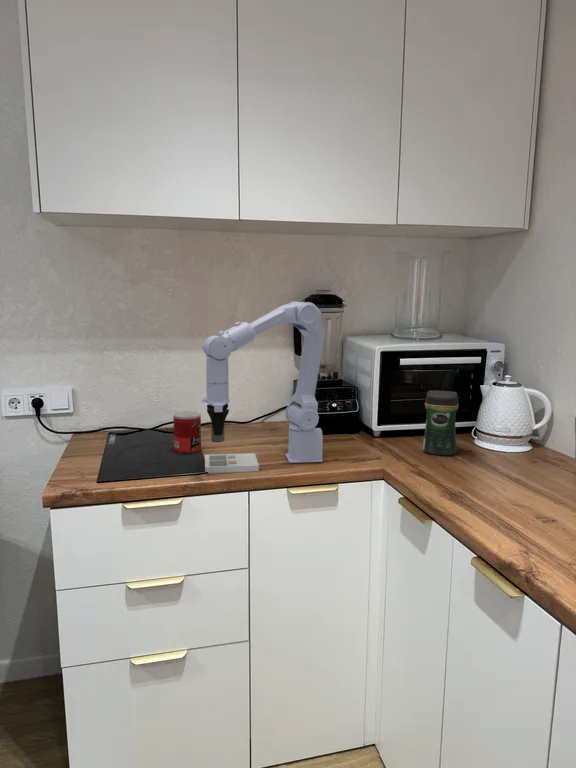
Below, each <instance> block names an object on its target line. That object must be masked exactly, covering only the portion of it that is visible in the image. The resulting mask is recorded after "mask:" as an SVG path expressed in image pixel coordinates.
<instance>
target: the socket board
mask: <svg viewBox="0 0 576 768" xmlns="http://www.w3.org/2000/svg"><path fill="white" fill-rule="evenodd" d="M259 471H260V465H259V462H258V459H257V455H256V453H255V452H254V453H226V454H225V453H221V454H205V455H204V473H205V472H208V473H207V474H217V473H222V474H223V473H242V472H243V473H247V472H249V473H250V472H251V473H252V472H259Z"/></svg>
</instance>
